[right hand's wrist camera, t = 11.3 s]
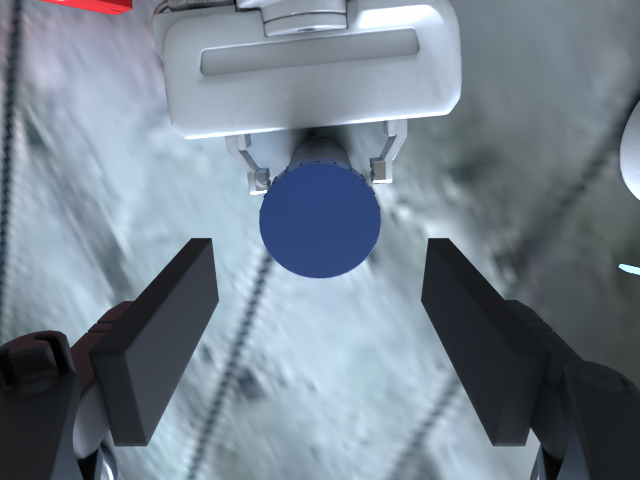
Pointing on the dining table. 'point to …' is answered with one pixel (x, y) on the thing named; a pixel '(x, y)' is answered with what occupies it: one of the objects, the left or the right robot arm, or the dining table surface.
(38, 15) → the dining table surface
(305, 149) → the jar
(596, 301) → the dining table surface
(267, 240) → the lid
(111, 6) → the toy gun
